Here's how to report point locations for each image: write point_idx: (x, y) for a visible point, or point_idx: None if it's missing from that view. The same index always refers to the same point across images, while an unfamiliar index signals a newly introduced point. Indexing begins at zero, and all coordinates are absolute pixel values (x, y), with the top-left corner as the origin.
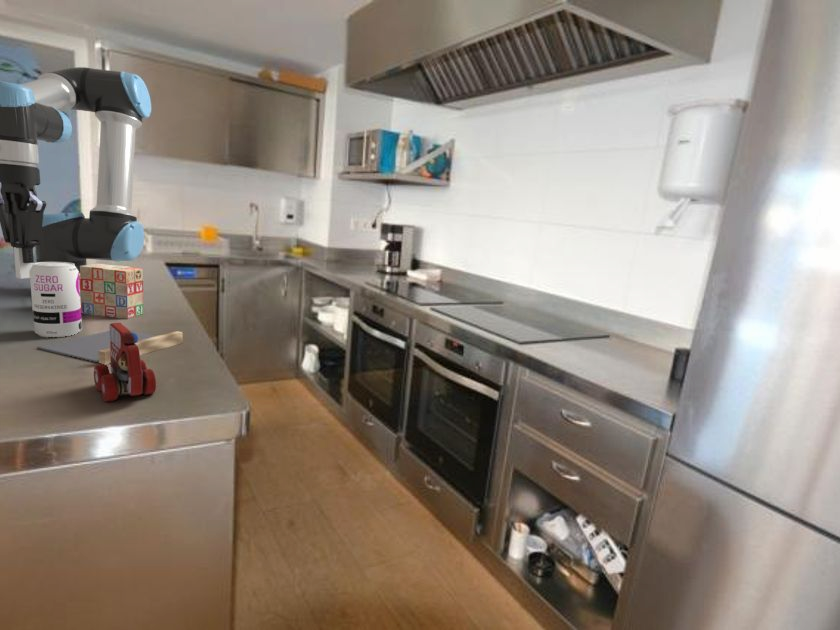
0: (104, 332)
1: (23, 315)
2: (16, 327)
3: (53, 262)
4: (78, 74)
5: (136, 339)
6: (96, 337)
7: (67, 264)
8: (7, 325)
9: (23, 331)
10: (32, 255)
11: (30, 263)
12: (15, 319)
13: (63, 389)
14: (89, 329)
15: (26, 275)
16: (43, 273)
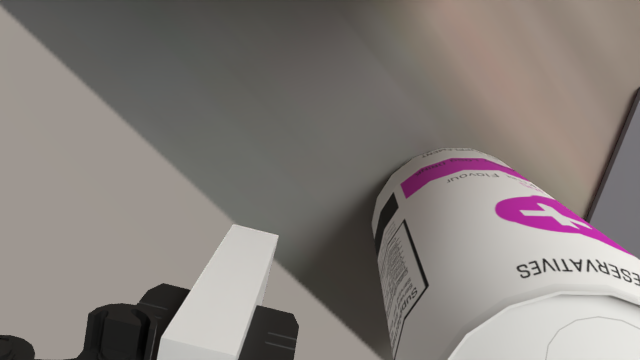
0: (616, 172)
1: (100, 24)
2: (251, 203)
3: (482, 326)
4: None
5: None
6: (631, 246)
7: (630, 345)
8: (200, 191)
9: (318, 240)
10: (291, 355)
11: (258, 297)
12: (139, 100)
13: None
14: (510, 125)
15: (265, 287)
16: None
